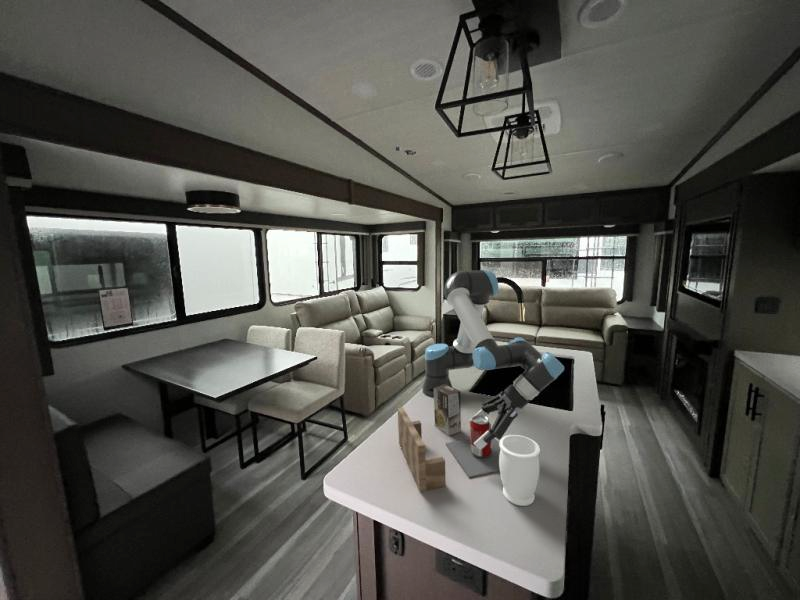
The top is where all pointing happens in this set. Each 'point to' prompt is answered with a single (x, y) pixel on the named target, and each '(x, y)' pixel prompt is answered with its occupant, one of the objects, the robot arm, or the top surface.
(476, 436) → the soda can
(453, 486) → the top surface
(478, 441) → the robot arm
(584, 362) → the top surface
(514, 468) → the jar
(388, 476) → the top surface
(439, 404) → the coffee box
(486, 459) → the rubber mat
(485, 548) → the top surface
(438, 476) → the walnut bay
